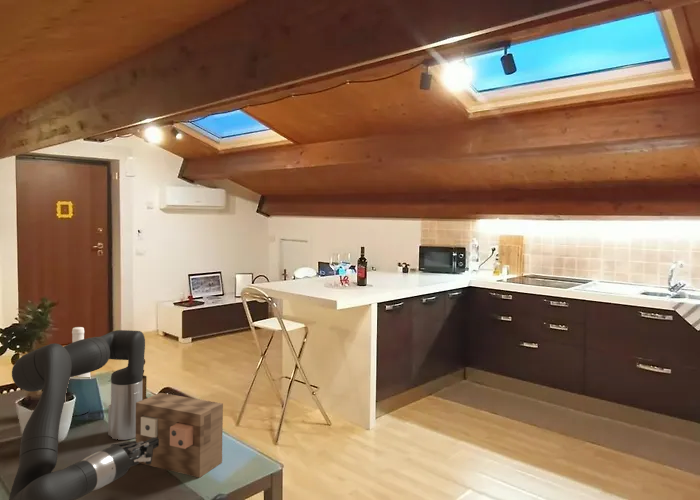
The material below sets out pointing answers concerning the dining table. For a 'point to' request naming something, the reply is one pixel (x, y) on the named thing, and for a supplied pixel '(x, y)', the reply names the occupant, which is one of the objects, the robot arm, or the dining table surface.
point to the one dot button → (149, 426)
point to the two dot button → (181, 435)
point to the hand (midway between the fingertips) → (156, 441)
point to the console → (186, 411)
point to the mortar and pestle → (144, 385)
